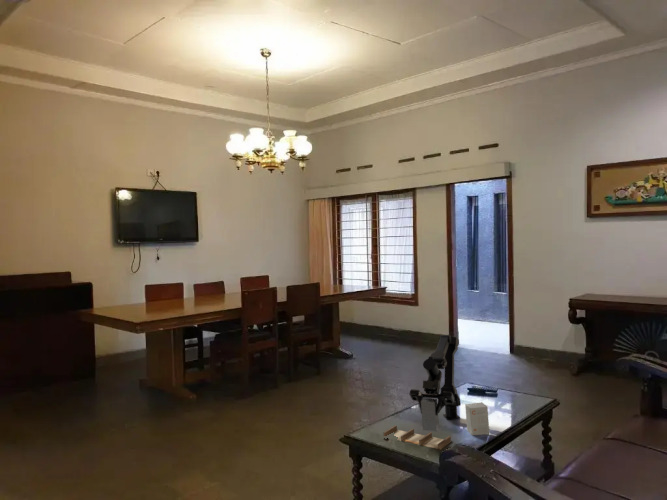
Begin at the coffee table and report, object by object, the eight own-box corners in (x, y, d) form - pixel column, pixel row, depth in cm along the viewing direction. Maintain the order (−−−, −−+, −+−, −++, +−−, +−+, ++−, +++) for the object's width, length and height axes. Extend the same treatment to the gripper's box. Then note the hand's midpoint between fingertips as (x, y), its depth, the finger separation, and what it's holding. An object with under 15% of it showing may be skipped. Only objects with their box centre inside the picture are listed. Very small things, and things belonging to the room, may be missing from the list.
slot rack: (383, 438, 229) (382, 432, 229) (395, 431, 237) (394, 425, 237) (440, 451, 211) (440, 444, 211) (451, 443, 219) (451, 436, 219)
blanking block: (422, 429, 219) (420, 400, 218) (425, 426, 222) (423, 398, 222) (436, 431, 216) (434, 402, 216) (439, 427, 220) (437, 399, 219)
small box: (484, 430, 230) (482, 401, 230) (489, 435, 224) (487, 406, 224) (466, 432, 230) (464, 403, 230) (472, 437, 223) (470, 408, 223)
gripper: (409, 371, 226) (402, 403, 217) (451, 373, 218) (446, 407, 208) (415, 383, 234) (409, 415, 224) (456, 386, 225) (452, 419, 216)
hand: (428, 414), depth 218 cm, fingers closed on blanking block, 6 cm apart
